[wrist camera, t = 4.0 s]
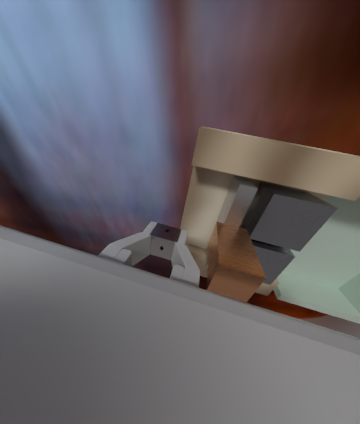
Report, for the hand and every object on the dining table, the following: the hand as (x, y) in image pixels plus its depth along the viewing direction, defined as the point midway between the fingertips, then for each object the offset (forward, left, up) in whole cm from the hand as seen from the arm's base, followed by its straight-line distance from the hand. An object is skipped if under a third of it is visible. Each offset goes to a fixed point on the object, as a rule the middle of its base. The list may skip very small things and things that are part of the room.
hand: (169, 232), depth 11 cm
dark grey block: (+8, +2, -5) cm, 10 cm away
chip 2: (+8, -2, -5) cm, 10 cm away
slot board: (+6, 0, -6) cm, 8 cm away
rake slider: (+5, 0, -4) cm, 6 cm away
